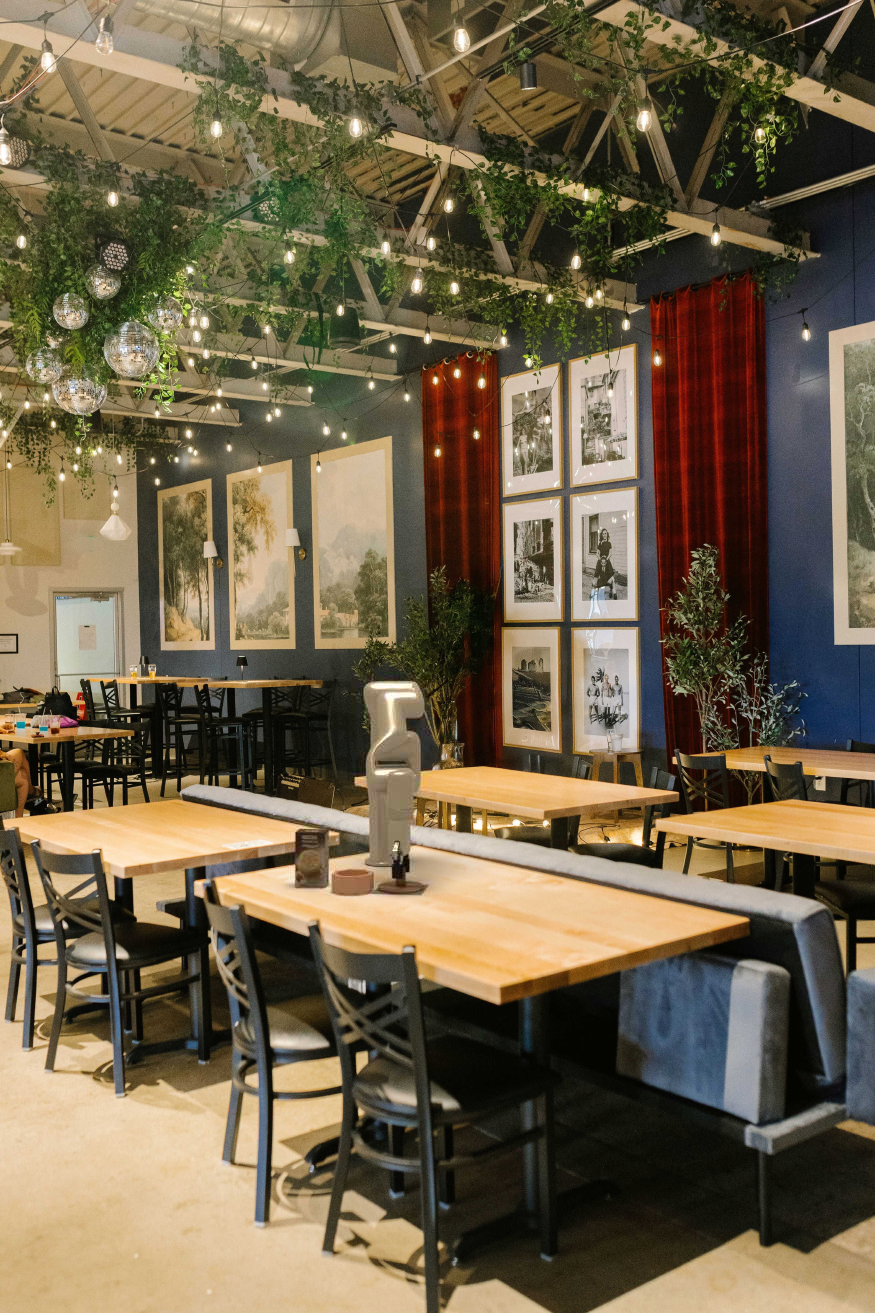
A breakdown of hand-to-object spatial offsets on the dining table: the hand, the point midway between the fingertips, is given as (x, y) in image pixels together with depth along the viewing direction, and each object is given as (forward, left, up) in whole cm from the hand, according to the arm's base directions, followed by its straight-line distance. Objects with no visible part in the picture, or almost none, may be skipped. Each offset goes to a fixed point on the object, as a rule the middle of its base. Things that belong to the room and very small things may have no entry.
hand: (401, 875), depth 300 cm
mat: (0, 0, -4) cm, 4 cm away
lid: (0, 0, -4) cm, 4 cm away
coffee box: (-4, -27, -5) cm, 28 cm away
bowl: (+4, -13, -4) cm, 14 cm away
